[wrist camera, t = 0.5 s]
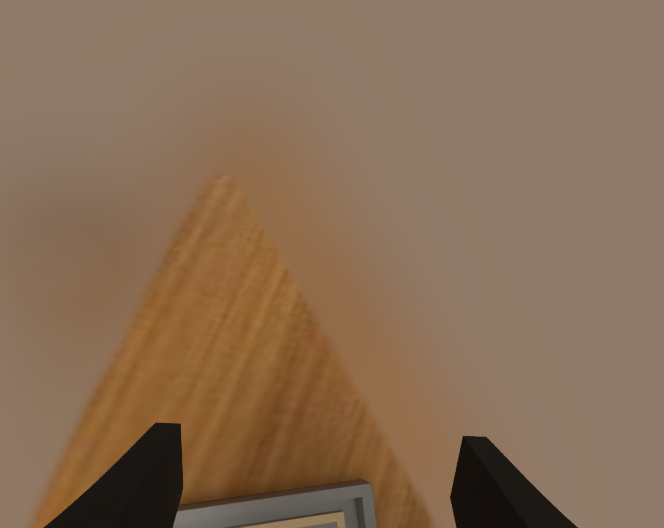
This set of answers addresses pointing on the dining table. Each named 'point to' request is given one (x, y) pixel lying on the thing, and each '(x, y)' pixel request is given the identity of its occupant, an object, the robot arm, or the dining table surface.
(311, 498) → the walled box
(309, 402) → the dining table surface
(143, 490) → the robot arm
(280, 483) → the dining table surface
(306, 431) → the dining table surface
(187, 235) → the dining table surface
